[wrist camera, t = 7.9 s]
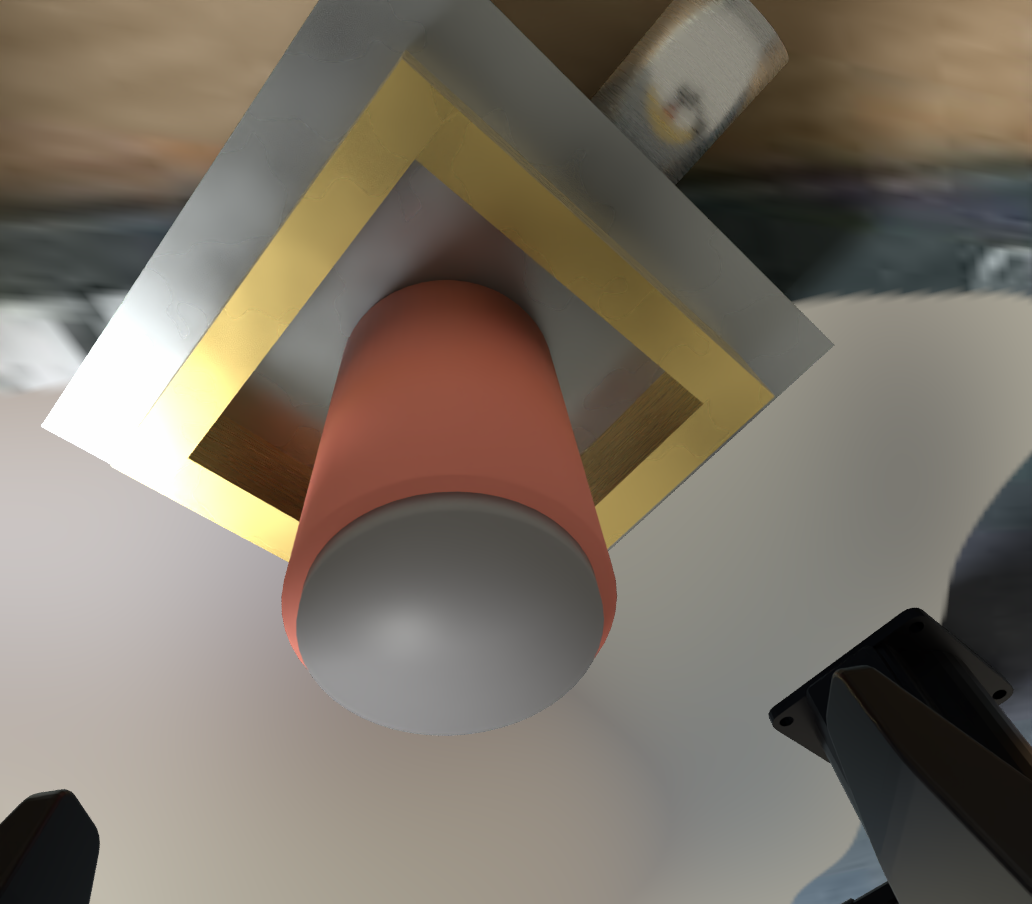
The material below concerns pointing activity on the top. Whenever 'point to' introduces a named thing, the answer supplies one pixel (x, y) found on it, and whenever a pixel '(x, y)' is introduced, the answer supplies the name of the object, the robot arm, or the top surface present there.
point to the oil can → (448, 523)
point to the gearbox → (450, 255)
